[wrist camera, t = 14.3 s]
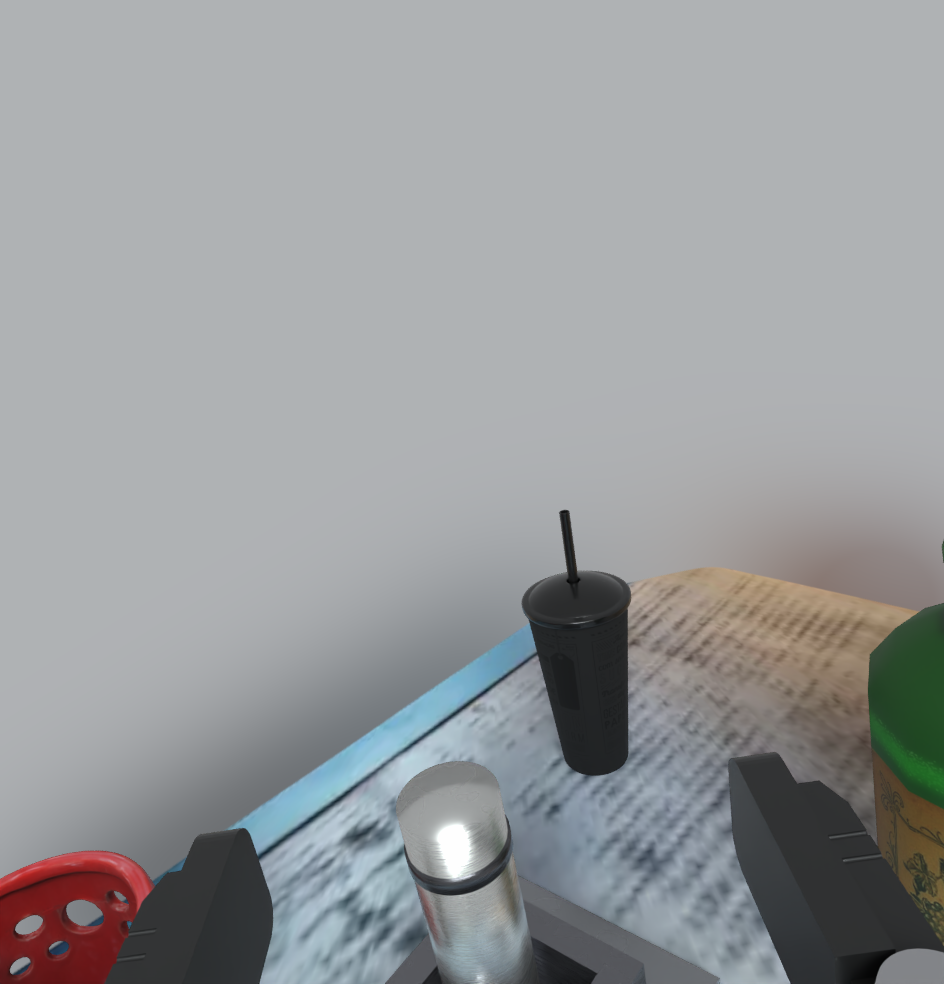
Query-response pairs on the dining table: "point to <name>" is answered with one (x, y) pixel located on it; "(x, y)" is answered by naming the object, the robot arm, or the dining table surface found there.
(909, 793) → the bottle
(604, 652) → the drinking cup
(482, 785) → the steel tube
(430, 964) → the collar
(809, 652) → the dining table surface
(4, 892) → the plant pot
